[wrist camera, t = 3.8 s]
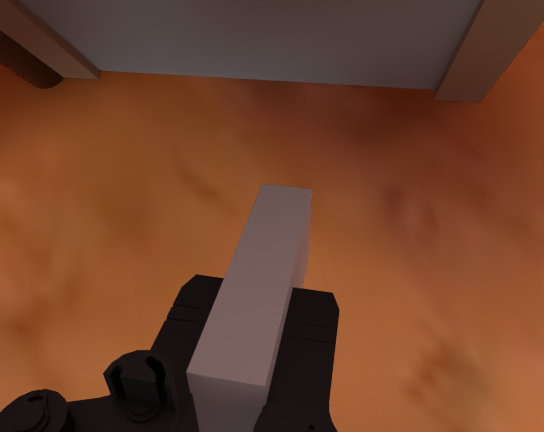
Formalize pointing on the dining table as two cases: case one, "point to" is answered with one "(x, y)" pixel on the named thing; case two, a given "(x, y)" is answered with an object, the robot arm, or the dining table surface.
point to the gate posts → (26, 64)
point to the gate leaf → (283, 39)
